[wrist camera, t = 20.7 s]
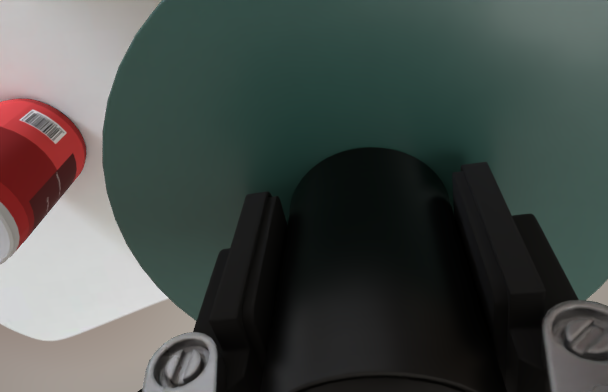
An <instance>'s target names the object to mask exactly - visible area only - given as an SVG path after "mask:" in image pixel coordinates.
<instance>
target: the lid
mask: <svg viewBox="0 0 608 392" xmlns="http://www.w3.org/2000/svg"><path fill="white" fill-rule="evenodd" d="M480 162H487V163H488V165H489V167H490V169H491V171H492V174H493V176H494V178H495V180H496V182H497V185H498V187H499V189H500V191H501V193H502V195H503V198H504V200H505V202H506V204H507V206H508V208H509V211H510V213H511V215H521V214H530V213H531V214H533V215H534V216H535V218H536V219H537V221H538V223H539V225H540V227H541V228H542V230H543V232H544V234H545V236H546V238H547V240H548V242H549V244H550V246H551V248H552V249H553V251H554V253H555V255H556V257H557V259H558V261H559V263H560V265H561V267H562V269H563V270H564V272H565V274H566V276H567V278H568V280H569V282H570V284H571V286H572V288H573V290H574V291H575V293H576V295H577V297H578V299H579V300H587V299H588V298H589V297H590V296H591V295H592V294H593V293H594V292H596V291H597V290H598V289H599V288H600V287H601V286H602V285H603V284H604V283H605V282H606V281H607V279H608V0H162V1H161V2H160V3H159V4H158V6H157V7H156V8H155V10H154V11H153V12H152V14H151V15H150V16H149V18H148V19H147V20H146V22H145V23H144V24H143V25H142V27H141V28H140V29H139V31H138V32H137V33H136V35H135V37H134V39H133V41H132V43H131V45H130V46H129V48H128V50H127V52H126V54H125V56H124V58H123V60H122V62H121V64H120V65H119V68H118V71H117V74H116V77H115V80H114V83H113V86H112V89H111V92H110V95H109V97H108V102H107V108H106V114H105V120H104V126H103V170H104V176H105V183H106V189H107V194H108V197H109V201H110V204H111V207H112V210H113V214H114V217H115V220H116V222H117V224H118V226H119V229H120V231H121V233H122V235H123V237H124V239H125V241H126V244H127V245H128V247H129V249H130V250H131V252H132V253H133V255H134V256H135V258H136V260H137V261H138V263H139V264H140V266H141V267H142V269H143V270H144V271H145V272H146V273H147V275H148V276H149V277H150V278H151V280H152V281H153V282H154V283H155V284H156V286H157V287H158V288H159V289H160V290H161V291H162V292H163V293H164V294H165V295H166V296H167V297H168V298H169V299H170V300H171V301H172V302H174V304H175V305H177V306H178V307H179V308H180V309H182V310H183V311H184V312H185V313H187V314H188V315H189V316H191V317H192V318H193V319H194V320H196V321H197V318H198V315H199V312H200V309H201V306H202V303H203V300H204V297H205V294H206V291H207V288H208V285H209V281H210V278H211V275H212V272H213V269H214V266H215V263H216V260H217V257H218V254H219V252H220V251H221V250H222V249H228V248H230V247H231V244H232V240H233V237H234V234H235V230H236V227H237V224H238V220H239V217H240V214H241V210H242V207H243V204H244V200H245V197H246V195H247V194H253V193H260V192H267V191H269V192H270V193H271V195H272V197H274V196H278V197H279V198H280V201H281V204H282V208H283V211H284V214H285V218H286V221H287V231H286V237H285V243H284V249H283V255H282V261H281V268H280V274H279V280H278V286H277V292H276V298H275V304H274V311H273V317H272V323H271V329H270V335H269V341H268V347H267V353H266V360H265V366H264V372H263V378H262V384H261V390H260V392H507V390H506V386H505V383H504V380H503V376H502V373H501V370H500V366H499V363H498V360H497V356H496V353H495V350H494V346H493V343H492V340H491V336H490V333H489V330H488V326H487V323H486V320H485V316H484V313H483V310H482V306H481V303H480V300H479V296H478V293H477V290H476V286H475V283H474V280H473V276H472V273H471V270H470V266H469V263H468V260H467V256H466V253H465V250H464V246H463V243H462V240H461V236H460V233H459V230H458V226H457V223H456V220H455V216H454V205H453V183H452V173H453V172H460V171H461V165H465V164H473V163H480Z"/></svg>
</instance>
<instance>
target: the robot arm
mask: <svg viewBox="0 0 608 392" xmlns="http://www.w3.org/2000/svg"><path fill="white" fill-rule="evenodd" d="M452 183H453V205H454V216H455V220H456V223H457V226H458V230H459V233H460V236H461V240H462V243H463V246H464V250H465V253H466V256H467V260H468V263H469V266H470V270H471V273H472V276H473V280H474V283H475V286H476V290H477V293H478V296H479V300H480V303H481V306H482V310H483V313H484V316H485V320H486V323H487V326H488V330H489V333H490V336H491V340H492V343H493V346H494V350H495V353H496V356H497V360H498V363H499V366H500V370H501V373H502V376H503V380H504V383H505V386H506V390H507V392H608V306H606V305H603V304H600V303H598V302H592V301H586V300H579V299H578V297H577V295H576V293H575V291H574V290H573V288H572V286H571V284H570V282H569V280H568V278H567V276H566V274H565V272H564V270H563V269H562V267H561V265H560V263H559V261H558V259H557V257H556V255H555V253H554V251H553V249H552V248H551V246H550V244H549V242H548V240H547V238H546V236H545V234H544V232H543V230H542V228H541V227H540V225H539V223H538V221H537V219H536V218H535V216H534V215H533V214H531V213H530V214H521V215H511V213H510V211H509V208H508V206H507V204H506V202H505V200H504V198H503V195H502V193H501V191H500V189H499V187H498V185H497V182H496V180H495V178H494V176H493V174H492V171H491V169H490V167H489V165H488V163H487V162H480V163H473V164H465V165H461V171H460V172H453V173H452ZM286 231H287V221H286V218H285V214H284V211H283V208H282V204H281V201H280V198H279V197H278V196H274V197H272V195H271V193H270V192H269V191H267V192H260V193H253V194H247V195H246V197H245V200H244V204H243V207H242V210H241V214H240V217H239V220H238V224H237V227H236V230H235V234H234V237H233V240H232V244H231V247H230V248H228V249H222V250H221V251H220V252H219V254H218V257H217V260H216V263H215V266H214V269H213V272H212V275H211V278H210V281H209V285H208V288H207V291H206V294H205V297H204V300H203V303H202V306H201V309H200V312H199V315H198V318H197V321H196V324H195V328H194V331H193V332H191V333H184V334H181V335H178V336H176V337H174V338H172V339H170V340H169V341H167V342H166V343H164V344H163V345H162V346H161V347H160V348H159V349H158V350H157V351H156V352H155V353H154V355H153V356H152V358H151V359H150V360H149V363H148V366H147V369H146V373H145V378H144V383H143V388H142V389H141V390H139V391H138V392H260V390H261V384H262V378H263V372H264V366H265V360H266V353H267V347H268V341H269V335H270V329H271V323H272V317H273V311H274V304H275V298H276V292H277V286H278V280H279V274H280V268H281V261H282V255H283V249H284V243H285V237H286Z"/></svg>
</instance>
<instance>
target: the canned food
mask: <svg viewBox="0 0 608 392" xmlns="http://www.w3.org/2000/svg"><path fill="white" fill-rule="evenodd" d="M85 158H86V146H85V143H84V139H83V137H82V135H81V133H80V132H79V130H78V129H77V127H76V126H75V125H74V123H73V122H72V121H71V120H69V119H68V118H67V117H66V116H65V115H64V114H62V113H61V112H60V111H58V110H57V109H55V108H53V107H51V106H50V105H47V104H45V103H42V102H40V101H36V100H31V99H12V100H7V101H3V102H0V264H2V263H4V262H5V261H6V260H7V259H8V258H9V257H11V256H12V255H13V254H14V252H15V251H16V250H17V249H18V248H19V247H20V245H21V244H22V243H23V242H24V241H25V240H26V239H27V238H28V236H29V235H30V234H31V233H32V232H33V230H34V229H35V228H36V227H37V225H38V224H39V223H40V222H41V221H42V219H43V218H44V217H45V216H46V215H47V213H48V212H49V211H50V210H51V208H52V207H53V206H54V205H55V204H56V202H57V201H58V200H59V199H60V198H61V196H62V195H63V194H64V193H65V191H66V190H67V189H68V188H69V187H70V185H71V184H72V183H73V182H74V181H75V179H76V178H77V177H78V176H79V174H80V173H81V171H82V169H83V167H84V163H85Z"/></svg>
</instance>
